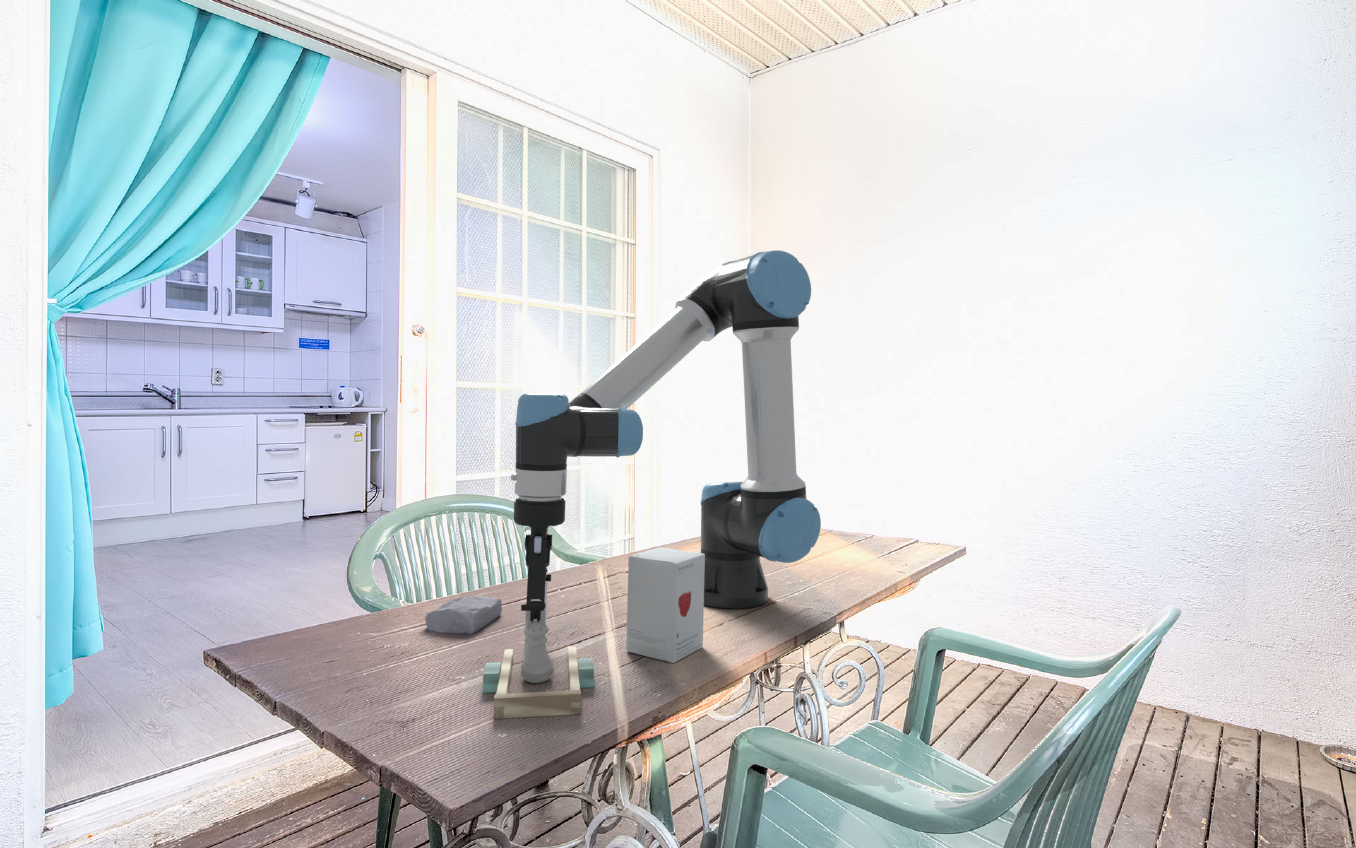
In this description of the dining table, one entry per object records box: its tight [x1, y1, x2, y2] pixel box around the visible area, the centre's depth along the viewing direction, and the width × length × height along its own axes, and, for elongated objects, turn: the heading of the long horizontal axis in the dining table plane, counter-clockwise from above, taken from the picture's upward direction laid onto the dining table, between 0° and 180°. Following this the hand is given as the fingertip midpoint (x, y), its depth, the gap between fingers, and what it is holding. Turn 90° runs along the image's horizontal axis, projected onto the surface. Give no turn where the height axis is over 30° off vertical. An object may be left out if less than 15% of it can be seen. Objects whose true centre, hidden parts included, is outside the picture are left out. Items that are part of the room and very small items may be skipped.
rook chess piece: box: [520, 619, 555, 684], centre depth 97 cm, size 4×4×8 cm
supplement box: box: [625, 546, 705, 664], centre depth 110 cm, size 9×9×15 cm
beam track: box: [482, 645, 595, 720], centre depth 96 cm, size 20×14×2 cm
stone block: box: [425, 595, 503, 635], centre depth 122 cm, size 12×5×10 cm
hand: (535, 638), depth 106 cm, fingers open, 13 cm apart
